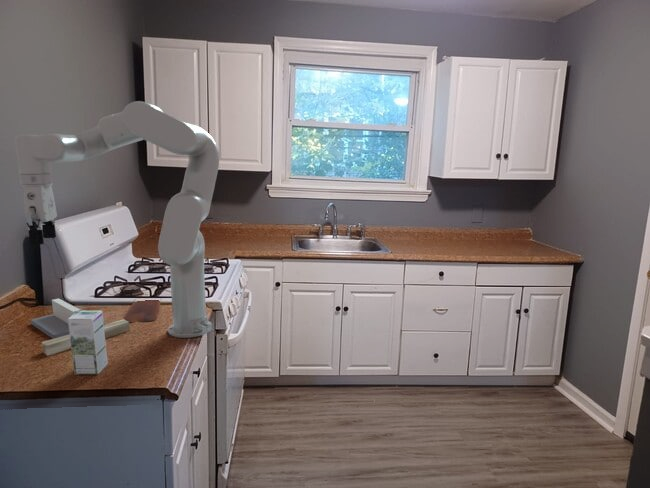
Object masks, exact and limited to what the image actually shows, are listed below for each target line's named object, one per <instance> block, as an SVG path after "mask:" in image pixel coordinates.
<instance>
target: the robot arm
mask: <svg viewBox="0 0 650 488" xmlns="http://www.w3.org/2000/svg"><path fill="white" fill-rule="evenodd" d="M143 140H144V141H146V142H149V143H151V144H153V145H155V146H157V147H159V148H161V149H162V150H166V151H168V152H169V153H172V154H175V155H178V156H188V163H187V166H186V169H185V172H184V178H183V182H182V187H181V189H180V192H178V193H176V194H175V195H173V196H172V197H171V198H170V200H169V201H168V203H167V205H166V208H165V211H164V216H163V220H162V223H161V224H162V225H161V228H160V229H161V230H160V234H159V239H158V243H157V244H158V245H157V250H158V255H159V257H160V258H161V260H162V262H164V263H165V264H167V265H168V266H169V267H170V268H169V271H170V272H169V275H170V276H169V277H170V292H171V293H170V294H171V309H172V323H171V324H170V325H169V326H168V328H167V332H168V334H169V335H170V336H171V337H175V338H178V339H179V338H182V339H189V338H190V339H191V338H195V337H200V336H203V335H206V334H207V333H209V332H211V330H212V329H213V323H212V322H211V321H209V320H208V316H207V307H206V306H207V305H206V304H207V303H206V287H205V286H206V285H205V282H206V281H205V279H206V277H205V252H206V251H205V246H206V243H205V237H204V235H203V233H202V232H201V231H200V228H201V223H202V222H203V221H204V220H205V219H206V218H207V217H208V216H209V214H210V210H211V206H212V200H213V195H214V191H215V186H216V181H217V177H218V172H219V168H220V166H219V165H220V153H219V149H218V146H217V143H216V141H215V140H214V138H213V137H212V136H211V135H210V133H208V131H206V130H205V129H203V128H202V127H200V126H199V125H197V124H193V123H189V122H184V121H183V120H180V119H178V118H176V117H174V116H171V115H170V114H168V113H165V112H164V111H163V110H162V109H161V108H160V107H159V106H157V105H155V104H153V103H149V102H145V101H141V100H138V101H132V102H130V103H128V104H127V105H125V107H124V109H122V111H120V112H117V113H113V114H110V115H106V116H104V117H101V118H100V119H99V120H98V124H97V126H96V125H95V127H93V128H90V129H88V130H84V131H80V132H78V133H74V134H63V133H48V134H18V135H16V136H15V138H14V144H15V151H16V152H15V153H16V160H17V168H18V176H19V181H20V182H19V183H20V187H23V202H24V213H25V220H26V225H27V230H28V237H29V243H30V245H31V246H33V245H35V246H37V245H44V244H45V240H44V239H55V238H57V232H56V225H55V219H56V218H57V216H58V212H57V206H56V202H55V201H56V199H55V196H54V191H53V187H52V186H53V185H54V183H53V176H52V165H51V163H68V162H69V163H70V162H71V163H72V162H73V163H75V162H81V161H84V160H87V159H91V158H93V157H97V156H100V155H103V154H105V153H108V152H110V151H111V152H112V151H113V150H115V149H119V148H121V147H124V146H127V145H130V144H134V143H137V142H140V141H143Z"/></svg>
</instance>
